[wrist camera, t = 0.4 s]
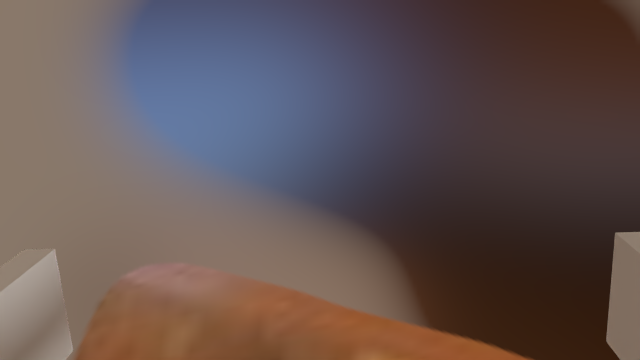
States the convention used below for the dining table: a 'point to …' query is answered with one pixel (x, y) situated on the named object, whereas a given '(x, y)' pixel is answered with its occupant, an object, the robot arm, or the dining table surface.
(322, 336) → the dining table surface
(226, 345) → the dining table surface
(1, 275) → the robot arm
